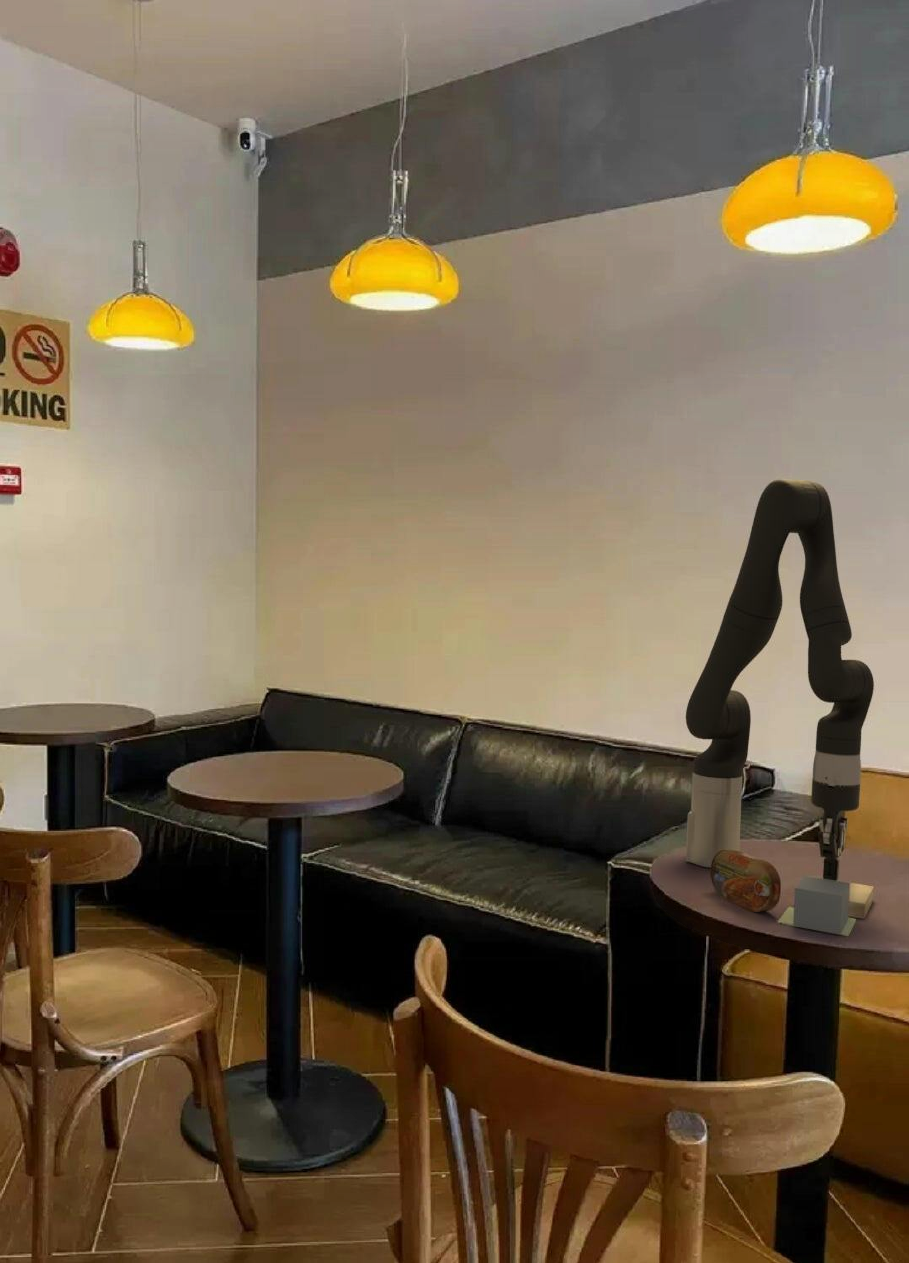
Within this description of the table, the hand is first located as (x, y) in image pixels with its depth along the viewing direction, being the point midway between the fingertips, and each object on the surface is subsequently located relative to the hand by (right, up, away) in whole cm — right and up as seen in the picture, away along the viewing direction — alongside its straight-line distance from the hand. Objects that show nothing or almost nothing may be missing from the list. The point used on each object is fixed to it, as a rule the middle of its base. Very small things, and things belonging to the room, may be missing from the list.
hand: (830, 880), depth 169 cm
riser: (+1, -4, +1) cm, 4 cm away
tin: (-15, -4, 0) cm, 15 cm away
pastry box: (-5, -4, -10) cm, 12 cm away
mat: (-5, -5, -9) cm, 11 cm away
